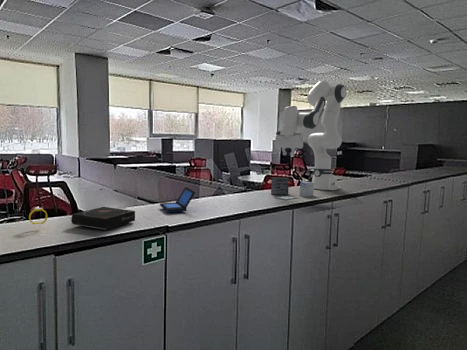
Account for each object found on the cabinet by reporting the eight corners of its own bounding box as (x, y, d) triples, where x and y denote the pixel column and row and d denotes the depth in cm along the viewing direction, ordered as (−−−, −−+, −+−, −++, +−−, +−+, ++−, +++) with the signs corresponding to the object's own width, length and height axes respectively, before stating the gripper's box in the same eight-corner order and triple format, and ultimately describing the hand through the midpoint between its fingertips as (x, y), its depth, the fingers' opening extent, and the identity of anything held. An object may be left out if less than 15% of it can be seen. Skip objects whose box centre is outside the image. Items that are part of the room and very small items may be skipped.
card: (288, 196, 216) (288, 195, 216) (299, 198, 210) (299, 197, 210) (274, 198, 209) (275, 197, 209) (285, 200, 202) (285, 199, 202)
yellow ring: (29, 225, 131) (29, 209, 130) (28, 224, 133) (28, 208, 133) (48, 223, 135) (47, 208, 134) (46, 222, 137) (46, 206, 136)
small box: (287, 194, 227) (288, 177, 226) (288, 195, 220) (289, 178, 219) (271, 193, 228) (271, 176, 227) (271, 194, 221) (271, 178, 220)
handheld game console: (159, 206, 176) (159, 187, 175) (185, 204, 182) (185, 186, 181) (167, 212, 162) (167, 192, 161) (195, 211, 167) (195, 191, 166)
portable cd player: (102, 215, 152) (102, 206, 152) (134, 220, 146) (134, 211, 145) (71, 224, 137) (71, 213, 137) (105, 229, 131) (105, 219, 130)
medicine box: (307, 195, 223) (308, 181, 222) (313, 196, 220) (314, 182, 219) (299, 196, 218) (299, 182, 217) (305, 197, 215) (305, 183, 214)
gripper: (306, 133, 212) (304, 156, 214) (280, 132, 228) (279, 154, 229) (299, 132, 208) (298, 156, 210) (273, 132, 224) (272, 154, 225)
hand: (288, 155), depth 220 cm, fingers open, 4 cm apart
